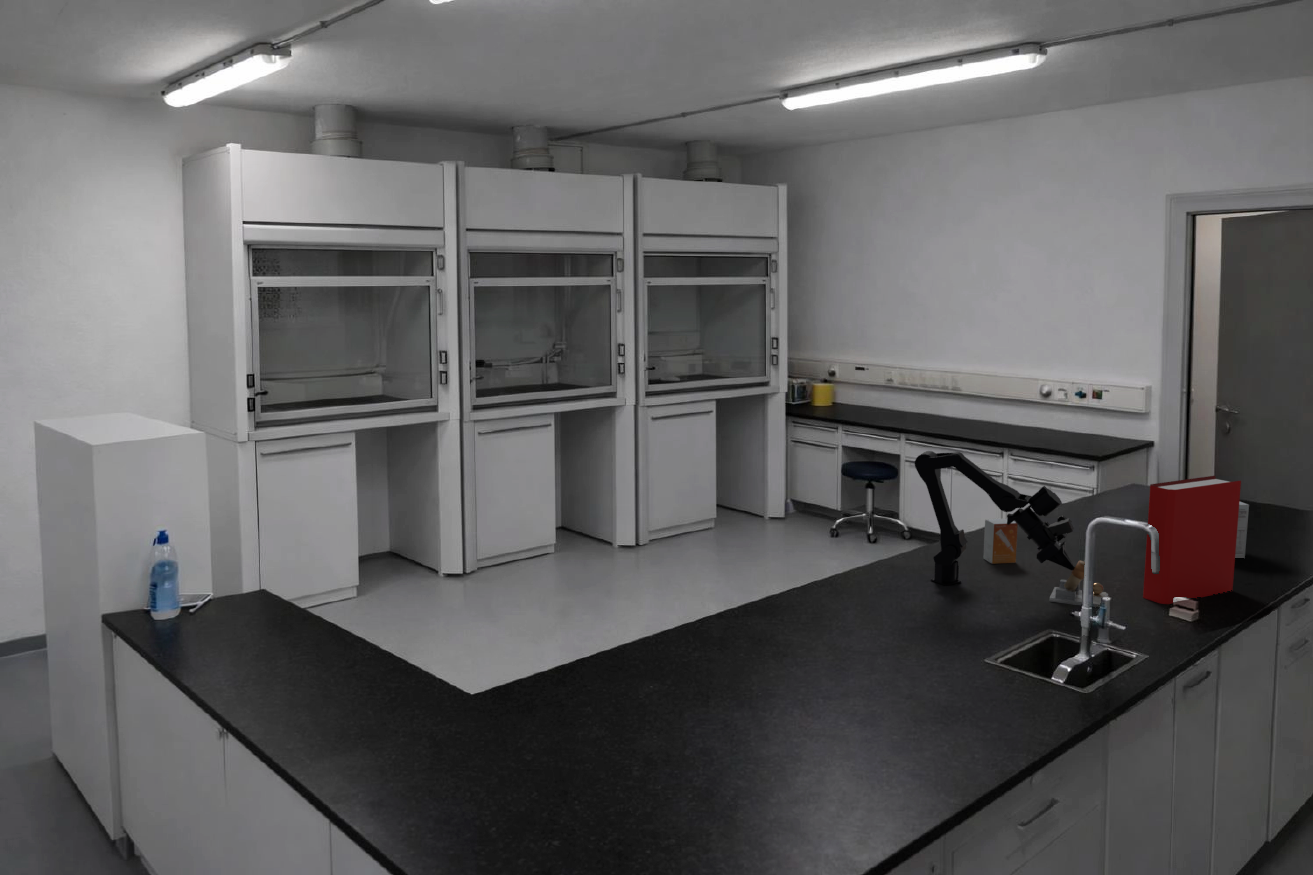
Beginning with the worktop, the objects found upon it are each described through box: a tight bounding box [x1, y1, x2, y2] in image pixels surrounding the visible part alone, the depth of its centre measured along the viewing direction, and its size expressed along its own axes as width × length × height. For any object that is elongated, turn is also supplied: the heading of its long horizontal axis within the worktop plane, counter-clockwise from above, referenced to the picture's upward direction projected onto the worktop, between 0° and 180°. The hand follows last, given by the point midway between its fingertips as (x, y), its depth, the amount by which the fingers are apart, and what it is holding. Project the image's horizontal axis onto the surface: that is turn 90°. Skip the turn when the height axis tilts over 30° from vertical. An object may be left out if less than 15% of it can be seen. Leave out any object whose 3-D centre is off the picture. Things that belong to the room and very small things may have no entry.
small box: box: [983, 518, 1019, 565], centre depth 317 cm, size 8×6×13 cm
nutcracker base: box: [1048, 579, 1109, 606], centre depth 279 cm, size 14×11×5 cm
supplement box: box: [1235, 500, 1250, 559], centre depth 322 cm, size 13×13×18 cm
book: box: [1142, 475, 1242, 605], centre depth 281 cm, size 27×8×32 cm, turn 114°
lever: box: [1064, 560, 1086, 590], centre depth 279 cm, size 3×6×10 cm, turn 153°
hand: (1073, 569), depth 279 cm, fingers closed, pressing on lever
